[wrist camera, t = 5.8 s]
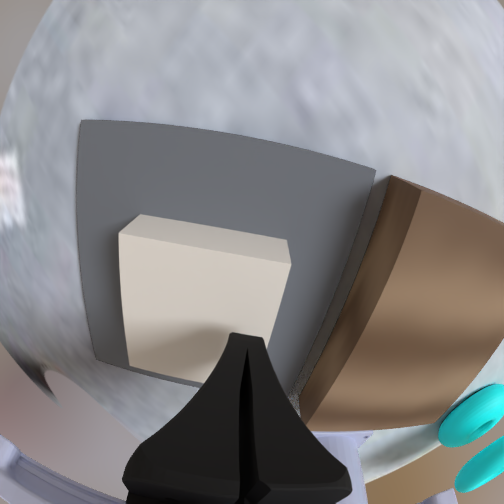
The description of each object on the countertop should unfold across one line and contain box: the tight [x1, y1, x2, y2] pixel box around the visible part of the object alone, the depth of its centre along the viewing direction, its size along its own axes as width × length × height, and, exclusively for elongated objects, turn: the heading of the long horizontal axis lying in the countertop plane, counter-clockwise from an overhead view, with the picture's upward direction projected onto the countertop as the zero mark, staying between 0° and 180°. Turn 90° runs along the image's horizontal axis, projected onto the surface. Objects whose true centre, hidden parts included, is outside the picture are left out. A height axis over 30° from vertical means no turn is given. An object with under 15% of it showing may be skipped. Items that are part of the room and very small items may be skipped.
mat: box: [77, 120, 376, 397], centre depth 15 cm, size 16×14×1 cm
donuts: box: [438, 384, 504, 493], centre depth 17 cm, size 10×10×10 cm
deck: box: [299, 175, 504, 432], centre depth 14 cm, size 16×12×3 cm
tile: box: [119, 214, 291, 383], centre depth 14 cm, size 8×7×2 cm
